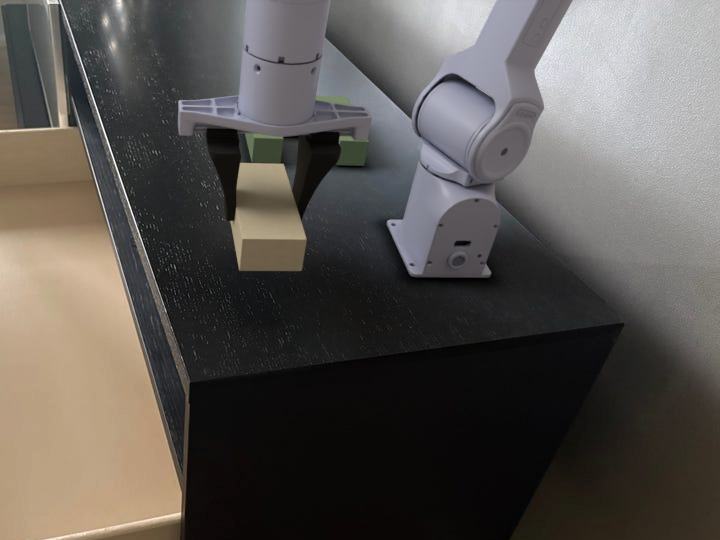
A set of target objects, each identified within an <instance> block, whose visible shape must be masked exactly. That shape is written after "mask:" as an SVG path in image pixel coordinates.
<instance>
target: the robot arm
mask: <svg viewBox="0 0 720 540" xmlns="http://www.w3.org/2000/svg"><path fill="white" fill-rule="evenodd" d="M573 1H574V0H495V2H494V5H493V6H492V7H491V8H492V9H491V10H490V13H489V15H488V17H487V19H486V21H485V23H484V24H483V26H482V29H481V31H480V32H479V34H478V37H477V39H476V41H475V43H474V44H473V45H471V46H469V47H467V48H465V49H462V50H459V51H458V52H456V53H453V54H451V55H449V56H447V57H446V58H445V59H444V61H443V62H442V64H441V67H440V69H439V71H438V72H437V74H436V76H435V77H433V79H432V80H431V82H430V83H428V85H427V86H425V88H424V89H422V92H420V94H419V96H418V97H417V99H416V101H415V102H414V106H413V109H412V114H411V126H412V130H413V132H414V134H415V135H416V136H417V137H418V143H417V146H416V150H417V151H418V152H419V158H418V161H417V165H416V169H415V172H414V177H413V180H412V184H411V187H410V191H409V195H408V198H407V202H406V206H405V210H404V214H403V218H402V219H389V220H386V221H387V222H386V227H387V228H388V231H389V233H390V235H391V236H392V240H393V242H394V244H395V246H396V248H397V250H398V253H399V255H400V257H401V259H402V263H403V264H404V266H405V268H406V270H407V272H408V274H409V276H410V277H413V278H451V279H452V278H460V279H461V278H463V279H465V278H467V279H468V278H469V279H474V278H476V279H488V278H490V277H491V275H492V271H491V269H490V268H489V266H488V265H487V261H488V259H489V256H490V254H491V251H492V248H493V245H494V243H495V240H496V236H497V234H498V230H499V229H500V226H501V220H502V215H501V211H500V208H499V204H498V203H497V199H496V193H495V192H496V184H497V182H500V181H502V180H504V178H505V177H507V176H509V175H510V174H511V173H513V172H514V171H515V170H516V169H517V168H518V167H519V165H520V164H522V162H523V160H524V159H525V157H526V156H527V154H528V151H529V149H530V146H531V145H532V139H533V136H534V130H535V128H536V124H537V122H538V121H539V118H540V117H541V115H542V113H543V111H544V110H545V103H544V99H543V96H542V93H541V90H540V87H539V83H538V81H537V77H536V73H535V70H536V68H537V67H538V64H539V62H540V61H541V59H542V57H543V55H544V54H545V52H546V49H547V48H548V46H549V45H550V42H551V41H552V39H553V37H554V36H555V34H556V32H557V30H558V28H559V26H560V24H561V22H562V20H563V19H564V17H565V15H566V14H567V12H568V10H569V9H570V6H571V5H572V3H573ZM330 7H331V0H246V3H245V15H244V27H243V40H242V52H241V64H240V77H239V89H238V94H237V95H229V96H228V95H227V96H221V97H220V96H219V97H211V98H203V99H189V100H188V99H187V100H185V99H179V100H178V102H177V103H178V104H177V105H178V109H177V110H178V111H177V129H178V136H183V137H192V136H193V135H194V133H204V134H205V139H206V146H207V147H206V148H207V151H208V155H209V158H210V159H211V162H212V164H213V166H214V169H215V171H216V173H217V176H218V179H219V182H220V185H221V188H222V192H223V202H224V207H223V208H224V215H225V221H228V222H231V221H234V219H235V212H236V189H237V180H238V173H239V167H240V163H241V161H242V153H241V148H240V137H239V134H245V133H246V134H263V135H269V136H277V137H283V138H284V137H285V138H287V137H297V136H296V135H299V136H298V139H297V141H298V143H297V156H296V166H295V174H294V177H293V178H294V179H293V183H292V187H291V189H292V192H293V196H294V199H295V202H296V206H297V209H298V212H299V215H300V219H301V222H302V221H303V218H304V215H305V213H306V211H307V208H308V205H310V204H309V203H310V202H311V199H312V197H313V196H314V194H315V192H316V191H317V189H318V188H319V185H320V184H321V183H322V181H323V180H324V178H325V177H326V176H327V175H328V173H329V172H330V171H331V170H332V169H333V168H334V167H335V166H337V165H336V164H337V162H338V160H339V158H340V154H341V147H340V144H339V137H340V136H350V137H352V138H353V139H354V140H357V141H367V138H368V139H369V133H370V128H371V123H372V120H373V119H372V118H373V117H372V115H371V113H370V112H369V110H368V108H367V106H363V105H362V106H361V105H352V104H351V105H344V104H338V103H332V102H327V101H321V100H316V96H317V91H318V86H319V80H320V71H321V67H322V66H321V65H322V60H323V59H322V58H323V53H324V52H323V51H324V46H325V38H326V32H327V25H328V19H329V14H330V12H329V11H330Z"/></svg>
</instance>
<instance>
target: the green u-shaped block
mask: <svg viewBox="0 0 720 540" xmlns="http://www.w3.org/2000/svg"><path fill="white" fill-rule="evenodd" d="M316 100H321V101H327V102H332V103H338V104H344V105H351V106H352V104H351V102H350V99H349V98H348V96H337V95H336V96H335V95H316ZM244 136H245V141H246V144H247V148H248V153H249V157H250V161H251V162H250V163H268V164H282V163H281V162H282V155H283V148H284V140H285V139H284V137H277V136H269V135H263V134H246V133H244ZM295 137H299V135H296V136H295ZM339 144H340V147H341V154H340V158H339V160H338V162H337V164H336V165H335V166H354V167H356V166H358V167H364V166H365V164H366V159H367V154H368V149H369V145H370V141H369V137H368V138H367V141H357V140H354V139H353V138H352V137H350V136H340V137H339Z"/></svg>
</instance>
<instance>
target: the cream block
mask: <svg viewBox="0 0 720 540" xmlns="http://www.w3.org/2000/svg"><path fill="white" fill-rule="evenodd" d="M303 225H304V224H303V222H302V221H301V219H300V215H299V212H298V209H297V206H296V202H295V199H294V196H293V192H292V186H291V182H290V180H289V177H288V173H287V170H286V166H285V163H252V162H240V167H239V173H238V180H237V189H236V212H235V219H234V221H230V227H231V230H232V231H231V232H232V237H233V243H234V250H235V254H236V259H237V260H236V261H237V265H238V271H239V272H302V271H303V266H304V259H305V253H306V247H307V241H308V239H307V235H306V232H305V229H304V226H303Z"/></svg>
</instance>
